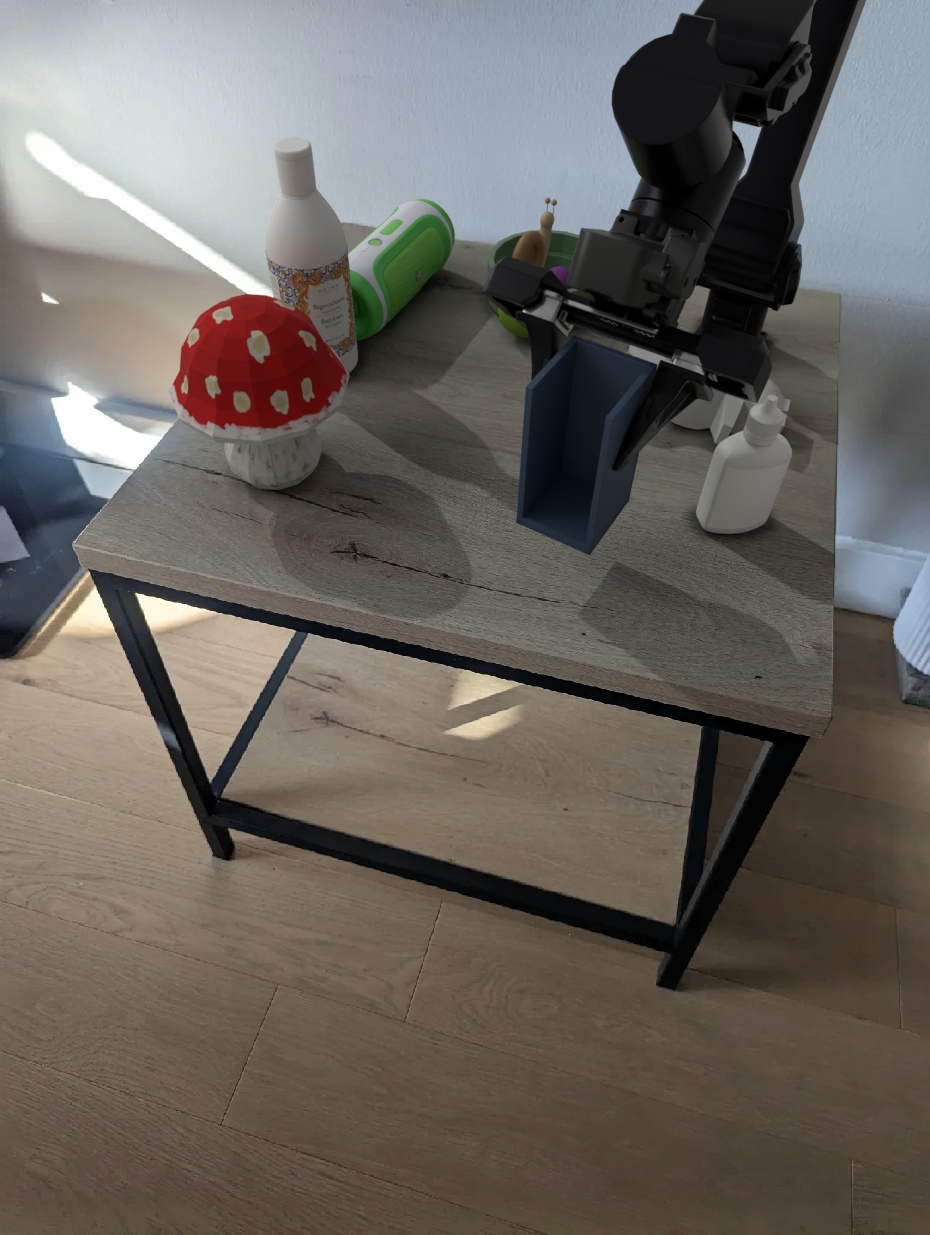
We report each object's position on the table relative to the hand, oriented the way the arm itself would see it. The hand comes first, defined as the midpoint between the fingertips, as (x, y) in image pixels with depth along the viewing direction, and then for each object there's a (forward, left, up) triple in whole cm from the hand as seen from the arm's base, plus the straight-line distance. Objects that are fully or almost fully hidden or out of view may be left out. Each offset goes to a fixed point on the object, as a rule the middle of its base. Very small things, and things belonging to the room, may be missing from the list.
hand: (572, 453), depth 58 cm
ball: (-34, -16, -9) cm, 38 cm away
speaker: (-26, -31, -12) cm, 42 cm away
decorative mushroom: (+1, -26, -12) cm, 28 cm away
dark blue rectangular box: (-1, 0, -7) cm, 7 cm away
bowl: (-34, -17, -12) cm, 40 cm away
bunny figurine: (-23, +3, -12) cm, 26 cm away
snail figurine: (-27, -16, -9) cm, 33 cm away
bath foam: (-13, -31, -12) cm, 36 cm away
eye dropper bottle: (-12, +10, -12) cm, 19 cm away
